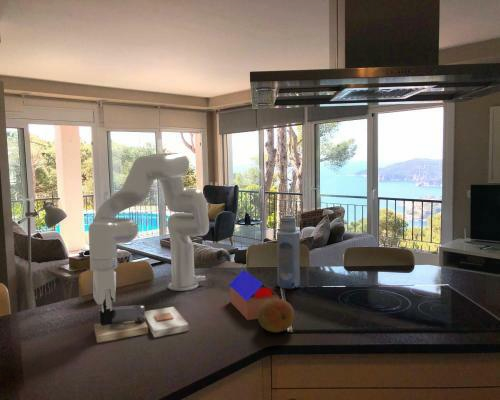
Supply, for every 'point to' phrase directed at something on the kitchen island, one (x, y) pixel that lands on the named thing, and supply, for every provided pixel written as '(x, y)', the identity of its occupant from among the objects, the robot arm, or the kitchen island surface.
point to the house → (249, 295)
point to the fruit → (276, 315)
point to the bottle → (288, 253)
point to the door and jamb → (144, 326)
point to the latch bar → (127, 314)
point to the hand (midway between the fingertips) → (106, 323)
